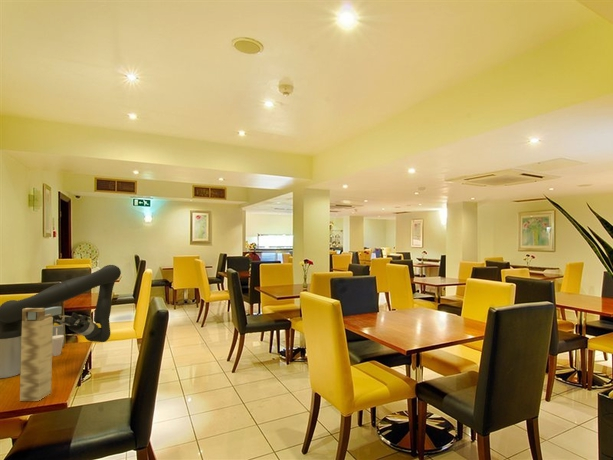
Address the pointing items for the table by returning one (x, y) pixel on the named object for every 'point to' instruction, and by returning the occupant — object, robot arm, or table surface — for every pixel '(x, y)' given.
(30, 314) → the bar
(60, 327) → the soap bottle
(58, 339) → the smoothie
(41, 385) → the tall patterned tan block
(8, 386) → the table surface
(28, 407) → the table surface
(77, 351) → the table surface
